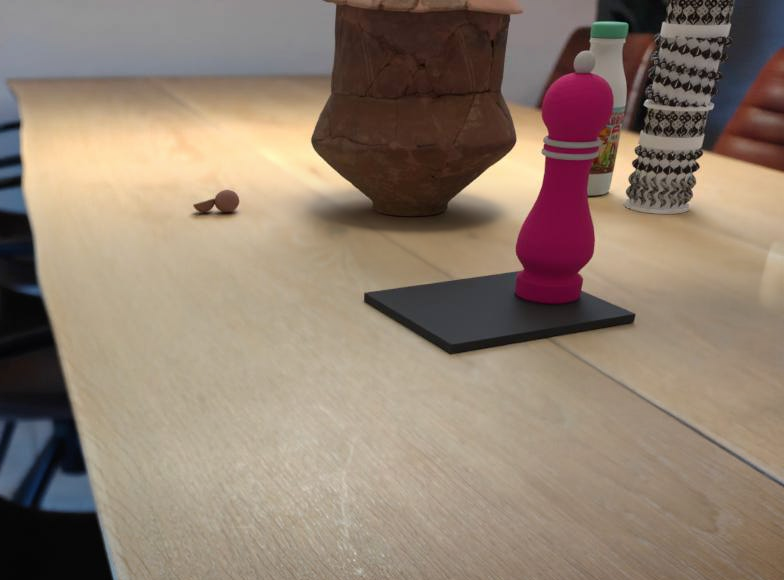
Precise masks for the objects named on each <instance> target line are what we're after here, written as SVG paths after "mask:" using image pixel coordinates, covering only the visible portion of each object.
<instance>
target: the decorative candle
mask: <svg viewBox="0 0 784 580" xmlns="http://www.w3.org/2000/svg"><path fill="white" fill-rule="evenodd" d="M735 1H736V0H668V3H667V6H666V10H665V17H664V21H662V23H661V29H660V32H657V33H656V34H655V35H654V36H653V38H652V41H653V43H654V45H656V46H657V50H656V51H654V52H653V53H652V54H651V56H650V58H649V59H650V62H651V63H652V65H653V66H652V67H651V68H650V69H649V70H648V71H647V76H648V78H649V79H650V80H651V82H652V83H651V84H649V85H648V86H647V88H646V89H645V90H644V93H645V96H646V97H647V98H648V99H646V100H645V101H644V103H643V106H644V107H646V112H645V115H644V120H643V126H642V130H641V131H640V133H639V138H638V143H637V144H638V145H637V146H636V147H634V153H635V155H636V156H637V158H634V159H633V160H632V161H631V165H632V168H633V169H634V171H633V172H632V173H630V174H629V176H628V179H627V180H628V183H629V184H630V185H629V186H627V188H626V189H625V194H626V196H627V197H628V198H626V199H625V200H624V202H623V206H624V207H625V206H626V207H627V208H626V207H625V208H626V209H629V208H630V209H629V210H632V211H636V212H640V213H646V214H656V215H676V214H683V213H686V212H688V211H689V210H690V207H691V205H690V204H689V202H690V201H691V200H692V199H693V197H694V194H693V193H694V192H693V189H694V188H695V186H696V185H697V178H696V177H695V175H694V173H695V172H697V171H698V170H699V169H700V168H701V166H700V164H699V162H698V161H697V160H699V159H700V158H701V157H703V155H704V151H703V150H702V149H701V148H702V147H703V143H704V139H705V133H704V132H705V127H706V124H707V122H708V121H707V120H708V115H709V112H710V111H712V110H713V109H714V107H715V103H713V102H711V99H713V98H714V97H715V96H718V95H719V94H720V90H719V88H718V87H717V86H716V84H717V83H719V82H721V81H723V79H724V74H723V73H721V72H720V69H719V66H720V65H722V64H723V63H726V62H728V61H729V59H730V56H729V55H728V54H727V53H726V51H725V50H726V49H728V48H730V47H732V45H733V44H734V40H733V39H732V38H731V36H730V30H731V27H732V23H731V17H732V15H733V12H734V7H735Z"/></svg>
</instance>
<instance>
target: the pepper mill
mask: <svg viewBox="0 0 784 580" xmlns="http://www.w3.org/2000/svg"><path fill="white" fill-rule="evenodd" d="M595 63H596V60H595V56H594V54H593V53H592V52H590V50H582V51H580V52H579V53H577V55H576V56H575V58H574V61H573V69H574V72H570V73H567V74H564V75H562V76H560V77H559V78H558V79H556V80H555V81H554V82H552V84H550V87H548V89H547V90H546V92H545V95H544V98H543V101H542V106H541V119H542V122H543V124H544V126H545V128H546V129H547V134H548V135H545V136H544V137H543V139H542V142H543V143H544V144H543V148H542V149H541V150H540V151H541V154H542V155H543V156H544V172H543V176H542V177H543V178H542V183H541V187H540V190H539V193H538V196H537V197H536V199H535V202H534V203H533V205H532V207H531V209H530V210H529V212H528V214H527V216H526V217H525V220H524V221H523V223H522V225H521V227H520V230H519V232H518V234H517V239H516V243H515V254H516V255H515V256H516V257H517V259H518V261H519V263H520V264H521V266H522V268H523V269H522V270H519V271H520V272H519V273H518V274H517V279H516V286H515V293H516V295H517V296H519V297H520V298H522V299H524V300H528V301H531V302H536V303H543V304H565V303H570V302H573V301H576V300H577V299H579V297H580V295H581V291H582V289H583V284H584V277H583V276H582V275H581V274H580V272H581V270H582V269H583V268H584V267H586V266H587V264H588V263H590V261H591V260H592V258H593V256H594V253H595V247H596V245H595V244H596V236H595V226H594V221H593V217H592V214H591V208H590V204H589V195H588V191H587V188H588V180H589V173H590V169H591V165H592V162H593V158H596V157H598V156H599V151H598V149H599V145H600V144H601V140H600V139H599V138H597V137H598V135H599V133H600V131H601V130H602V129H603V128H604V127H605V126H606V125H607V123H608V122H609V120H610V118H611V115H612V112H613V106H614V98H613V92H612V89H611V87H610V85H609V83H608V82H607V81H606V80H605V79H603V78H602V77H601V76H599V75H596V74H593V73H590V72H591V71H592V70H593V68H594V67H595Z"/></svg>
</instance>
